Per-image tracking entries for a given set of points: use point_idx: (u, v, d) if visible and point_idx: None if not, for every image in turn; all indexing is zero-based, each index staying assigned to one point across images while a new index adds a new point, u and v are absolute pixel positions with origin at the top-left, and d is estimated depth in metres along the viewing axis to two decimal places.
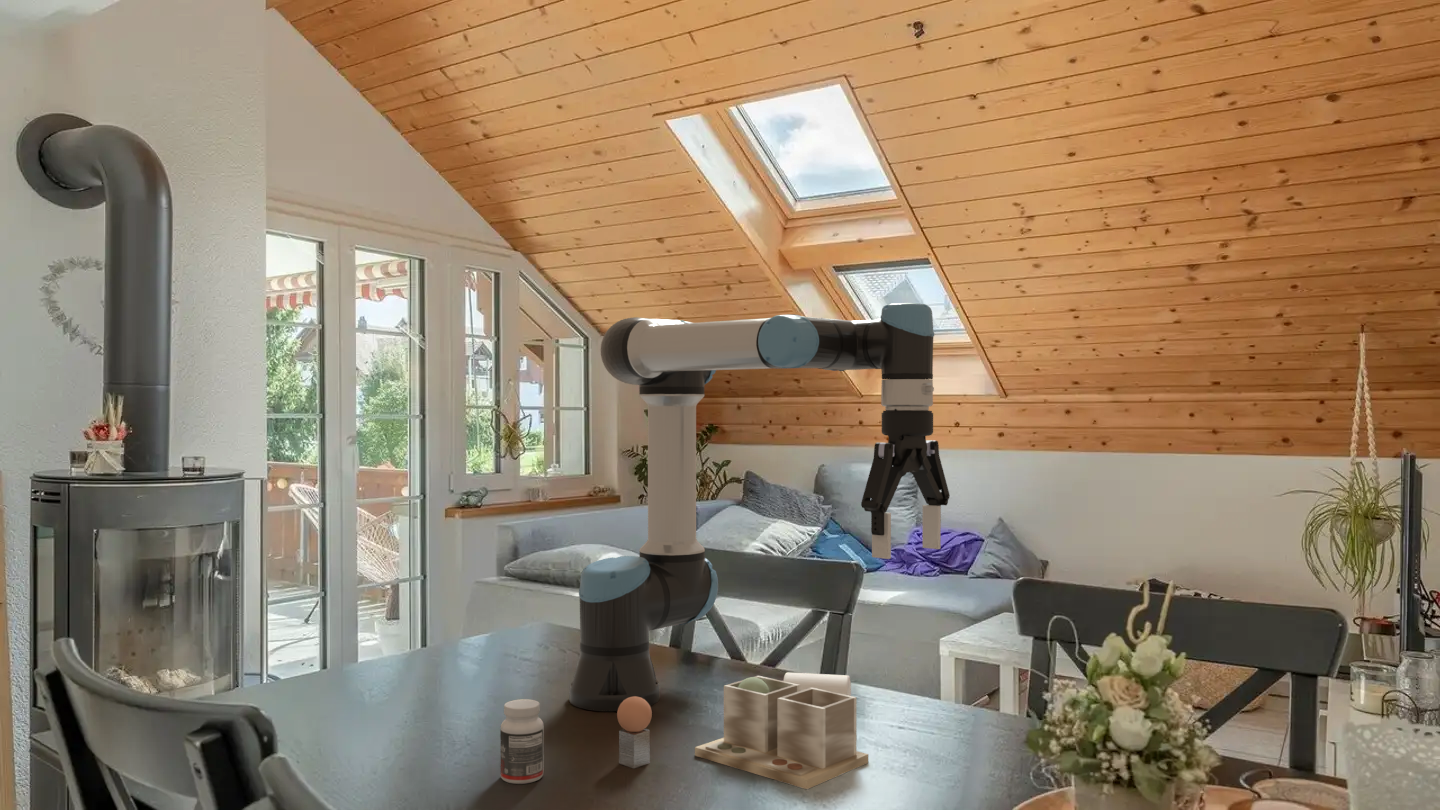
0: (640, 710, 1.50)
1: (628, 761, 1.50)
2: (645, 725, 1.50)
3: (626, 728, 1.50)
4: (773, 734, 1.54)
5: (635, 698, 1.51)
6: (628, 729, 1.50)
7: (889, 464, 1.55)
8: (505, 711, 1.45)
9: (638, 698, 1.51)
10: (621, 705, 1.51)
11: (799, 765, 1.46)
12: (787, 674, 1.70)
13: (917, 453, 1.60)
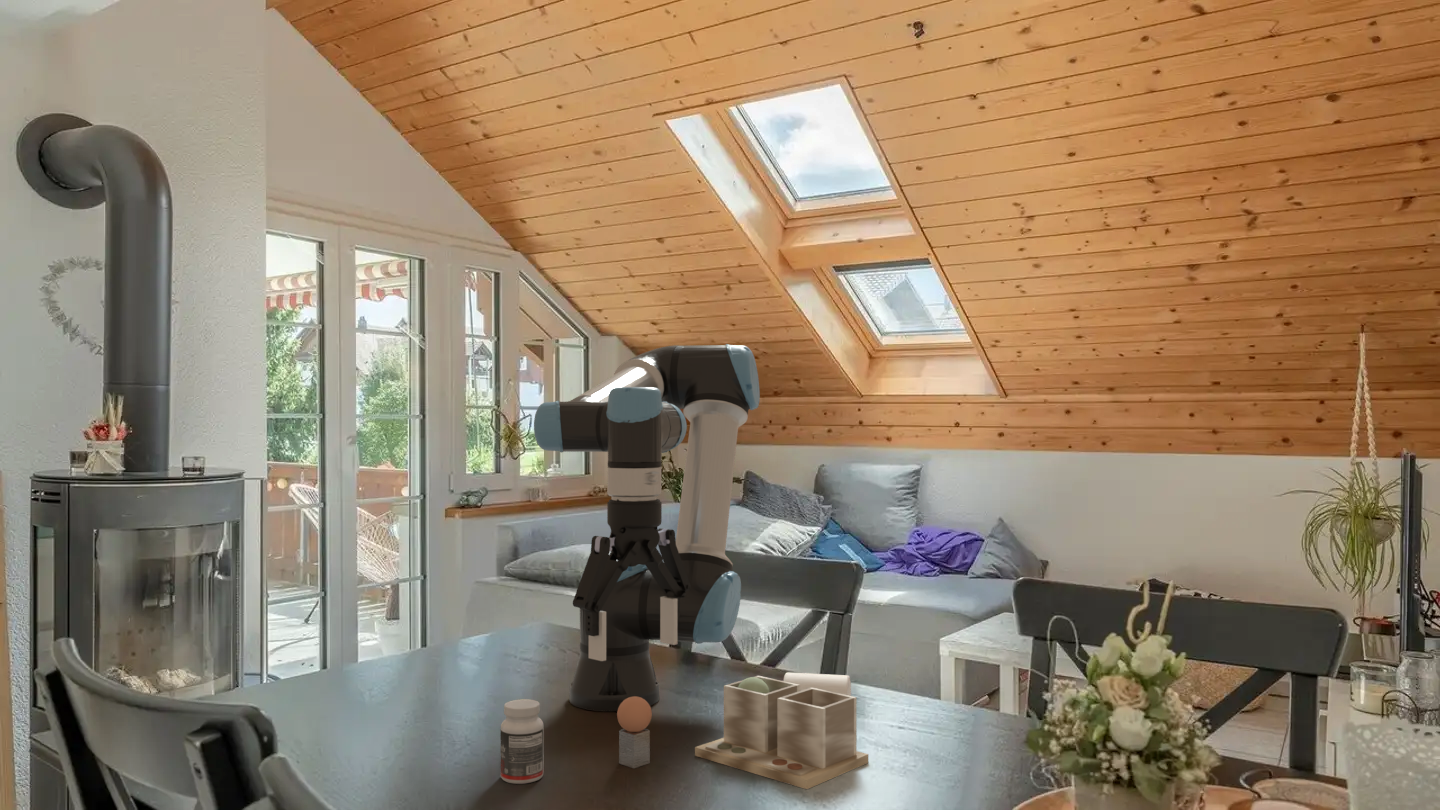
0: (640, 710, 1.50)
1: (628, 761, 1.50)
2: (645, 725, 1.50)
3: (626, 728, 1.50)
4: (773, 734, 1.54)
5: (635, 698, 1.51)
6: (628, 729, 1.50)
7: (604, 560, 1.46)
8: (505, 711, 1.45)
9: (638, 698, 1.51)
10: (621, 705, 1.51)
11: (799, 765, 1.46)
12: (787, 674, 1.70)
13: (644, 545, 1.51)
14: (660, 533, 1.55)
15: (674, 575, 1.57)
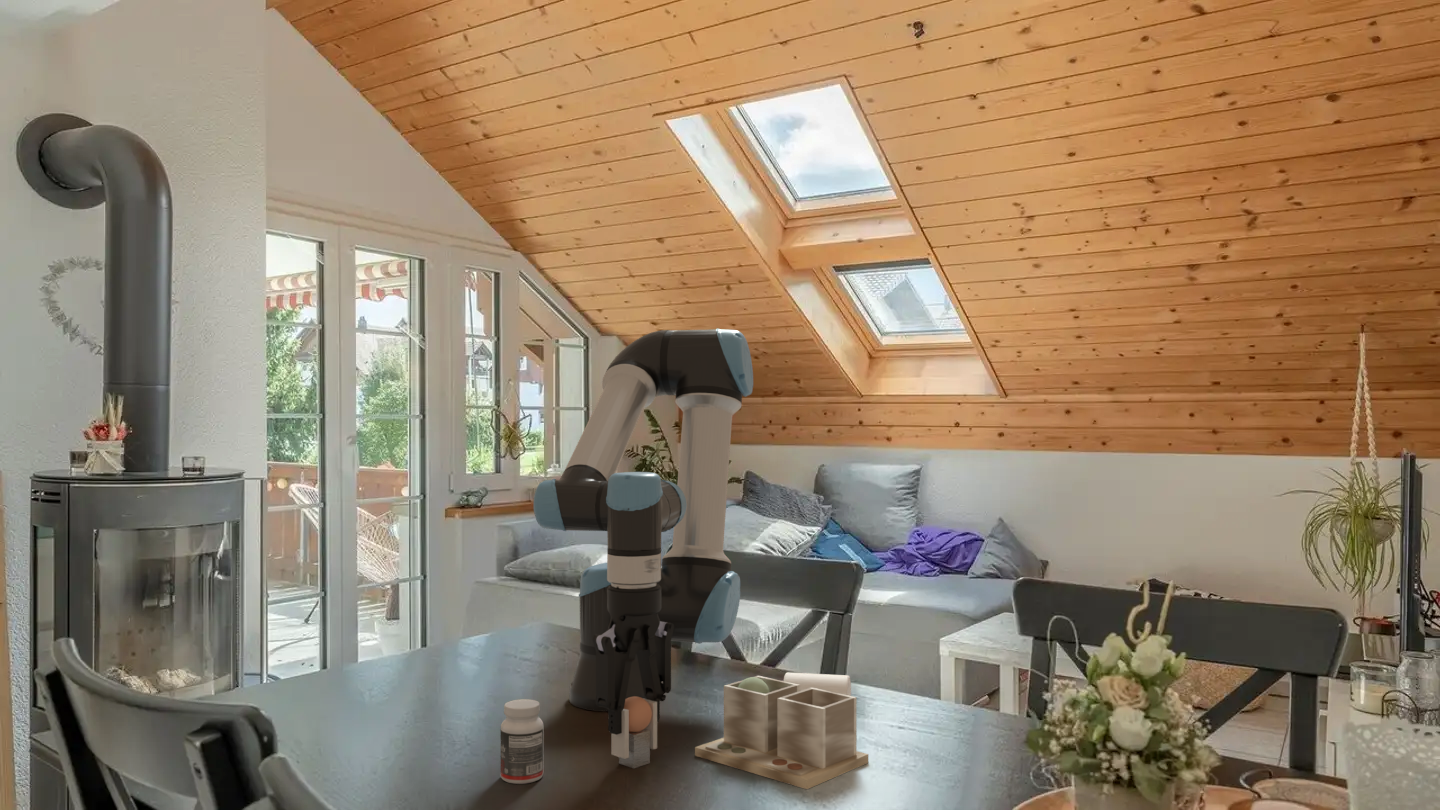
0: (640, 710, 1.50)
1: (628, 761, 1.50)
2: (645, 725, 1.50)
3: None
4: (773, 734, 1.54)
5: (635, 698, 1.51)
6: None
7: (612, 658, 1.47)
8: (505, 711, 1.45)
9: (638, 698, 1.51)
10: None
11: (799, 765, 1.46)
12: (787, 674, 1.70)
13: (644, 629, 1.51)
14: (660, 622, 1.55)
15: (659, 672, 1.55)
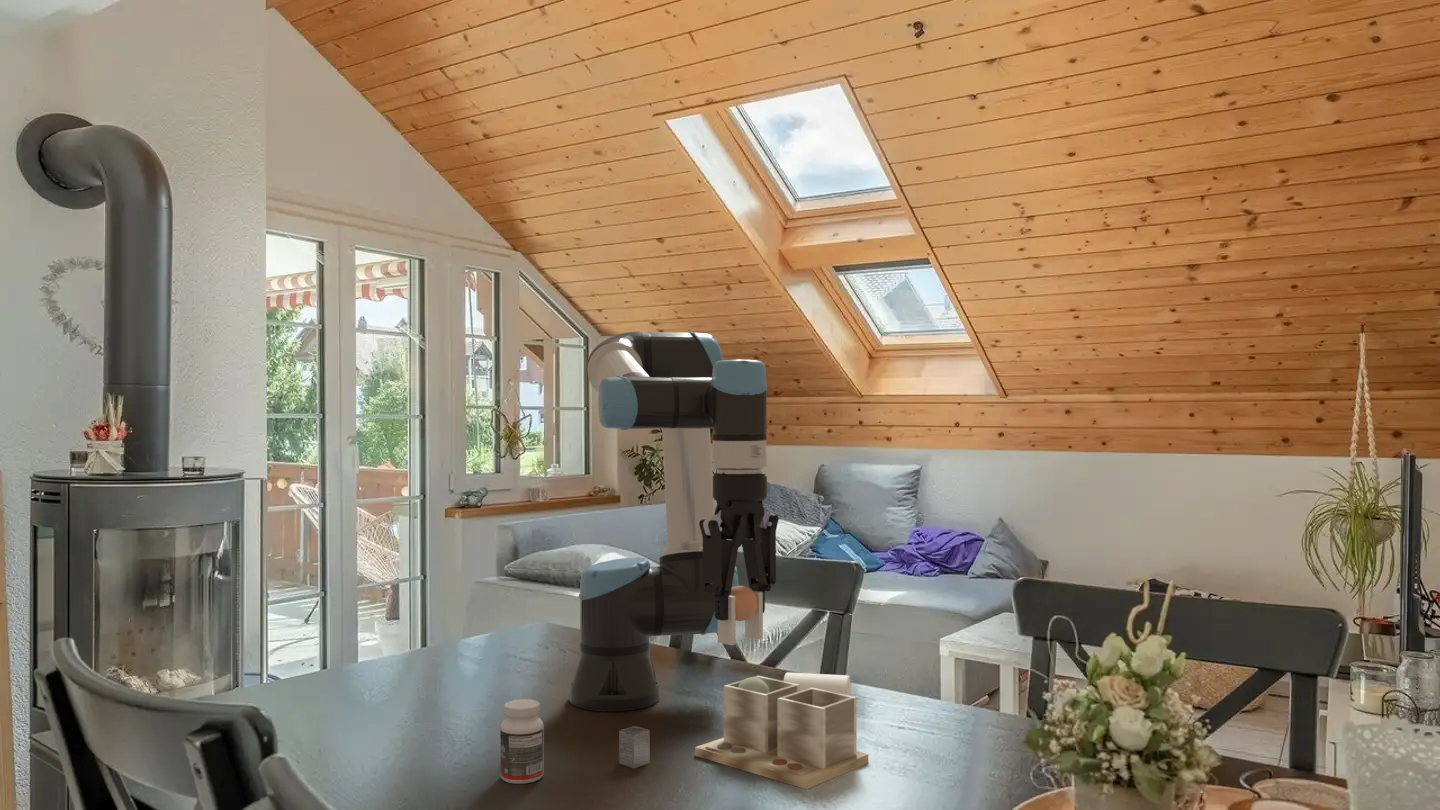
0: (746, 597, 1.49)
1: (628, 761, 1.50)
2: (751, 613, 1.49)
3: None
4: (773, 734, 1.54)
5: (741, 586, 1.50)
6: None
7: (719, 542, 1.46)
8: (505, 711, 1.45)
9: (744, 587, 1.50)
10: None
11: (799, 765, 1.46)
12: (787, 674, 1.70)
13: (750, 517, 1.50)
14: (765, 513, 1.54)
15: (763, 564, 1.54)
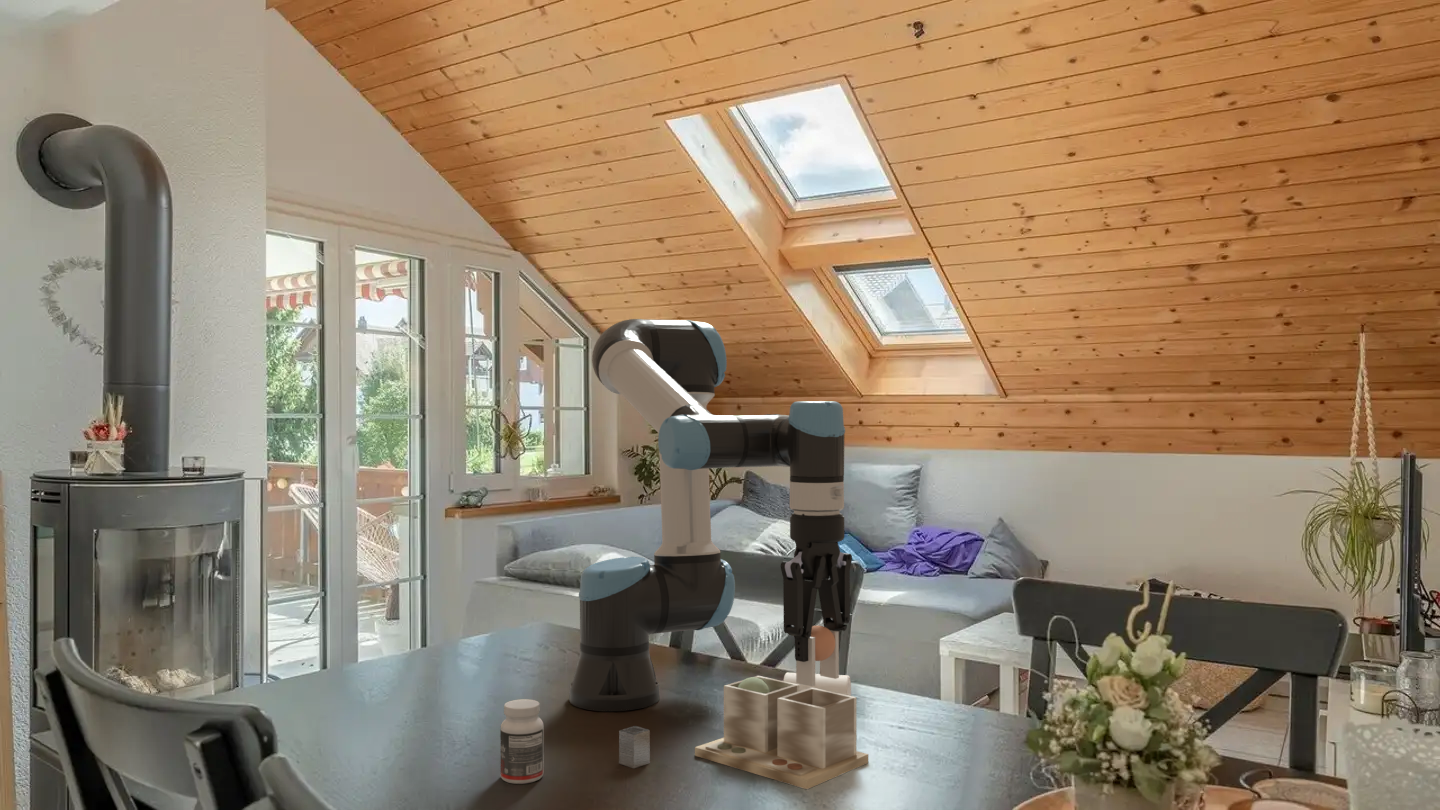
0: (826, 638, 1.49)
1: (628, 761, 1.50)
2: (830, 653, 1.50)
3: None
4: (773, 734, 1.54)
5: (819, 627, 1.51)
6: None
7: (800, 584, 1.47)
8: (505, 711, 1.45)
9: (822, 627, 1.51)
10: None
11: (799, 765, 1.46)
12: (787, 674, 1.70)
13: (827, 557, 1.51)
14: (839, 552, 1.55)
15: None
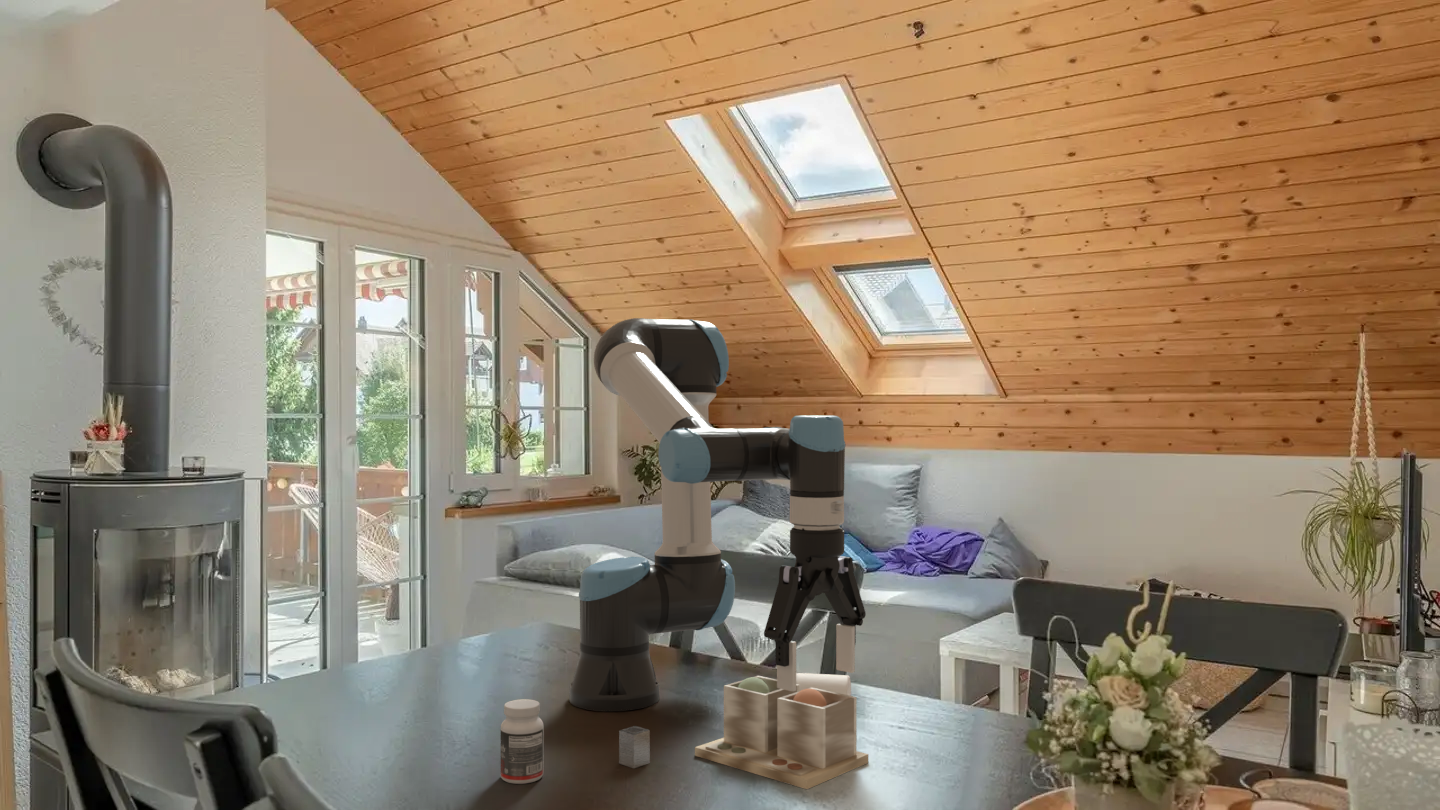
0: (808, 696, 1.50)
1: (628, 761, 1.50)
2: (823, 705, 1.50)
3: None
4: (773, 734, 1.54)
5: (798, 692, 1.52)
6: None
7: (794, 590, 1.46)
8: (505, 711, 1.45)
9: (800, 691, 1.52)
10: None
11: (799, 765, 1.46)
12: None
13: (827, 574, 1.51)
14: (839, 561, 1.55)
15: (850, 602, 1.57)
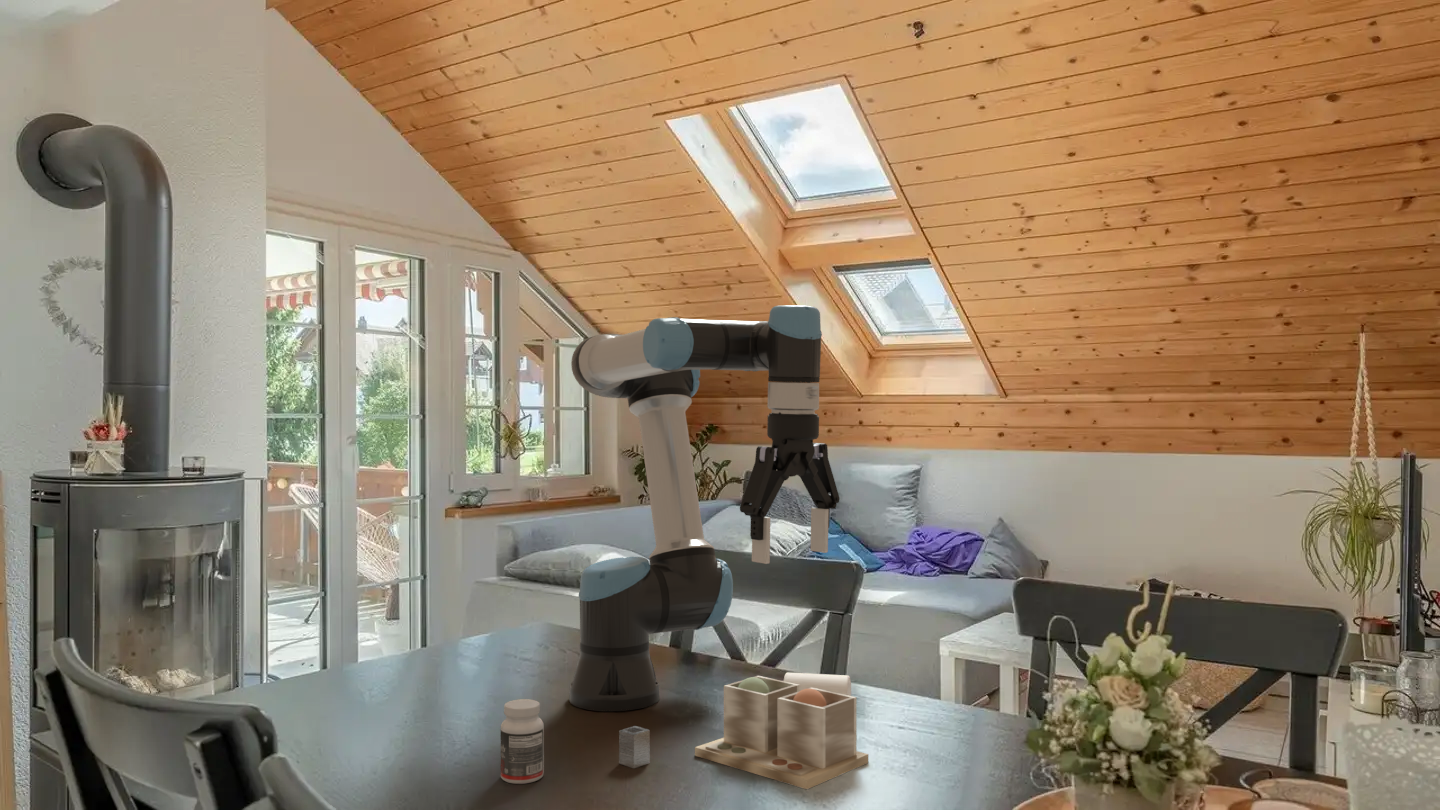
0: (808, 696, 1.50)
1: (628, 761, 1.50)
2: (823, 705, 1.50)
3: None
4: (773, 734, 1.54)
5: (798, 692, 1.52)
6: None
7: (769, 468, 1.54)
8: (505, 711, 1.45)
9: (800, 691, 1.52)
10: None
11: (799, 765, 1.46)
12: (787, 674, 1.70)
13: (802, 457, 1.59)
14: (814, 446, 1.62)
15: (824, 487, 1.65)
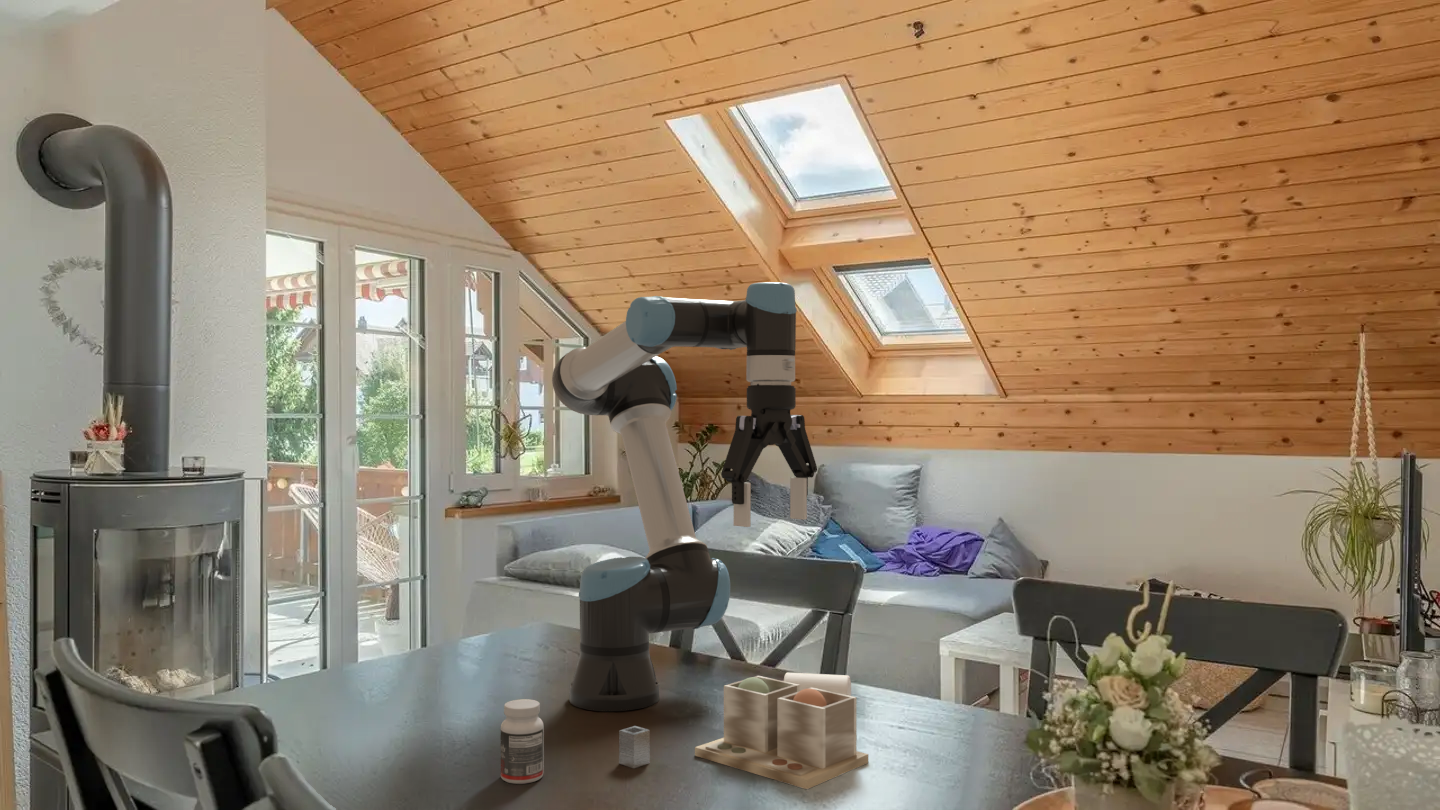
0: (808, 695, 1.50)
1: (628, 761, 1.50)
2: (823, 705, 1.50)
3: None
4: (773, 734, 1.54)
5: (798, 692, 1.52)
6: None
7: (749, 436, 1.62)
8: (505, 711, 1.45)
9: (800, 691, 1.52)
10: None
11: (799, 765, 1.46)
12: (787, 674, 1.70)
13: (780, 426, 1.67)
14: (792, 418, 1.71)
15: (802, 458, 1.73)
